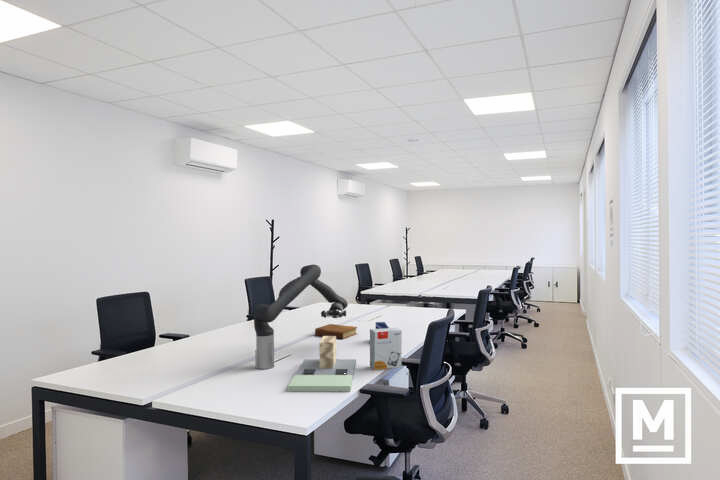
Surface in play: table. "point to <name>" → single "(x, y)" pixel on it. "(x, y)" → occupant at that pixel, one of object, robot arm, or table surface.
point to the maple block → (327, 351)
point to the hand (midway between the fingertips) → (332, 316)
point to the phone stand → (381, 325)
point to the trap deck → (323, 376)
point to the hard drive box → (385, 348)
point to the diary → (336, 331)
